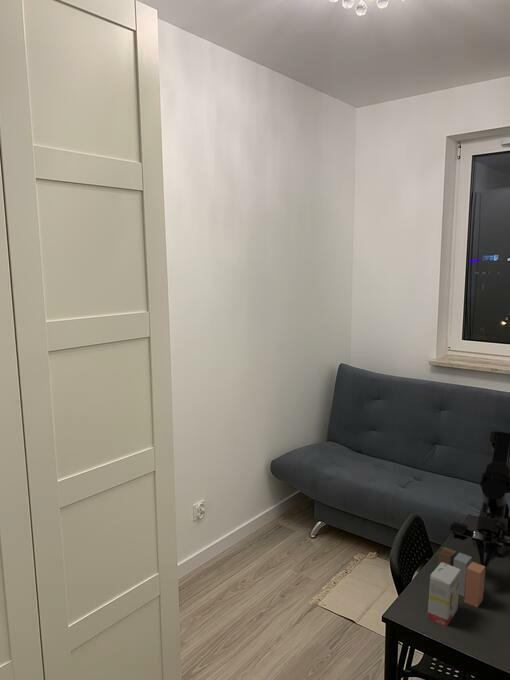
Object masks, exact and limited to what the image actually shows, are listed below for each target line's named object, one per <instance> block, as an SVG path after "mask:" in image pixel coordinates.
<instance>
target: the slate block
mask: <svg viewBox="0 0 510 680" xmlns="http://www.w3.org/2000/svg"><path fill="white" fill-rule="evenodd" d="M472 562H473V558H472V556H470V555H468V554H465V553H462V552H458V554H456V557H455V558H454V563H453V567H456V568H458V569H461V572H460V584H459V596H462V597H465V586H466V572H467V567H468V566H469V565H470V564H471V563H472Z"/></svg>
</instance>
